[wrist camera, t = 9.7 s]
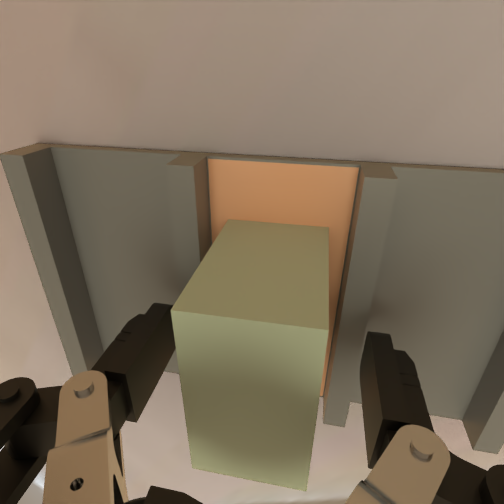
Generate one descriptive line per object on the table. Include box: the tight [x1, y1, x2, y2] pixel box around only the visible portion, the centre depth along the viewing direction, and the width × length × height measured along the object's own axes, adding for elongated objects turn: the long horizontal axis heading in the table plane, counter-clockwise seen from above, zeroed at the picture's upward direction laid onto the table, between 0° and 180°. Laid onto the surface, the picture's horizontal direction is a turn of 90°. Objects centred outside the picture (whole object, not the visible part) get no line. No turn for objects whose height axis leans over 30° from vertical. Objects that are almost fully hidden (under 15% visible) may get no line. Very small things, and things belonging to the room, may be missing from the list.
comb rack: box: [0, 143, 504, 454], centre depth 15 cm, size 21×12×2 cm, turn 89°
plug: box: [171, 219, 329, 491], centre depth 13 cm, size 4×7×6 cm, turn 0°
